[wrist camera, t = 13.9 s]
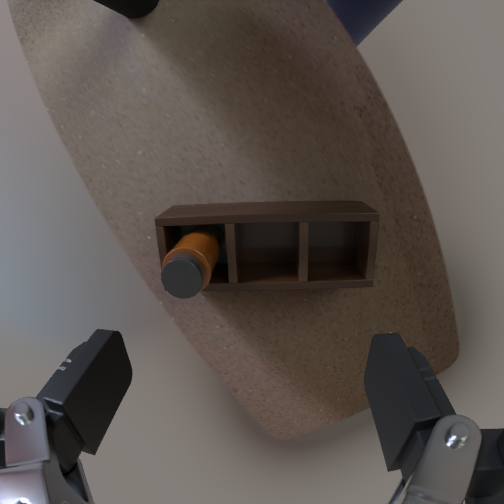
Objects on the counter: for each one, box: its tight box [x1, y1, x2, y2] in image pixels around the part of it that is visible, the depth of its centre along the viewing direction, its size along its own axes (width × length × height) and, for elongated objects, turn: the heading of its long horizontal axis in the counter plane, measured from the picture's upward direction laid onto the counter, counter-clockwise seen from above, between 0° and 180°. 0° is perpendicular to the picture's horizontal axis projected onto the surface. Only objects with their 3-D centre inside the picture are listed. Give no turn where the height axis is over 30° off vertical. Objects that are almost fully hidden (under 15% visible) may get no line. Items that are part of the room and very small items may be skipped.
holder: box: [155, 201, 379, 291], centre depth 30 cm, size 7×20×6 cm, turn 92°
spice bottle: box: [161, 224, 225, 298], centre depth 27 cm, size 4×4×10 cm
